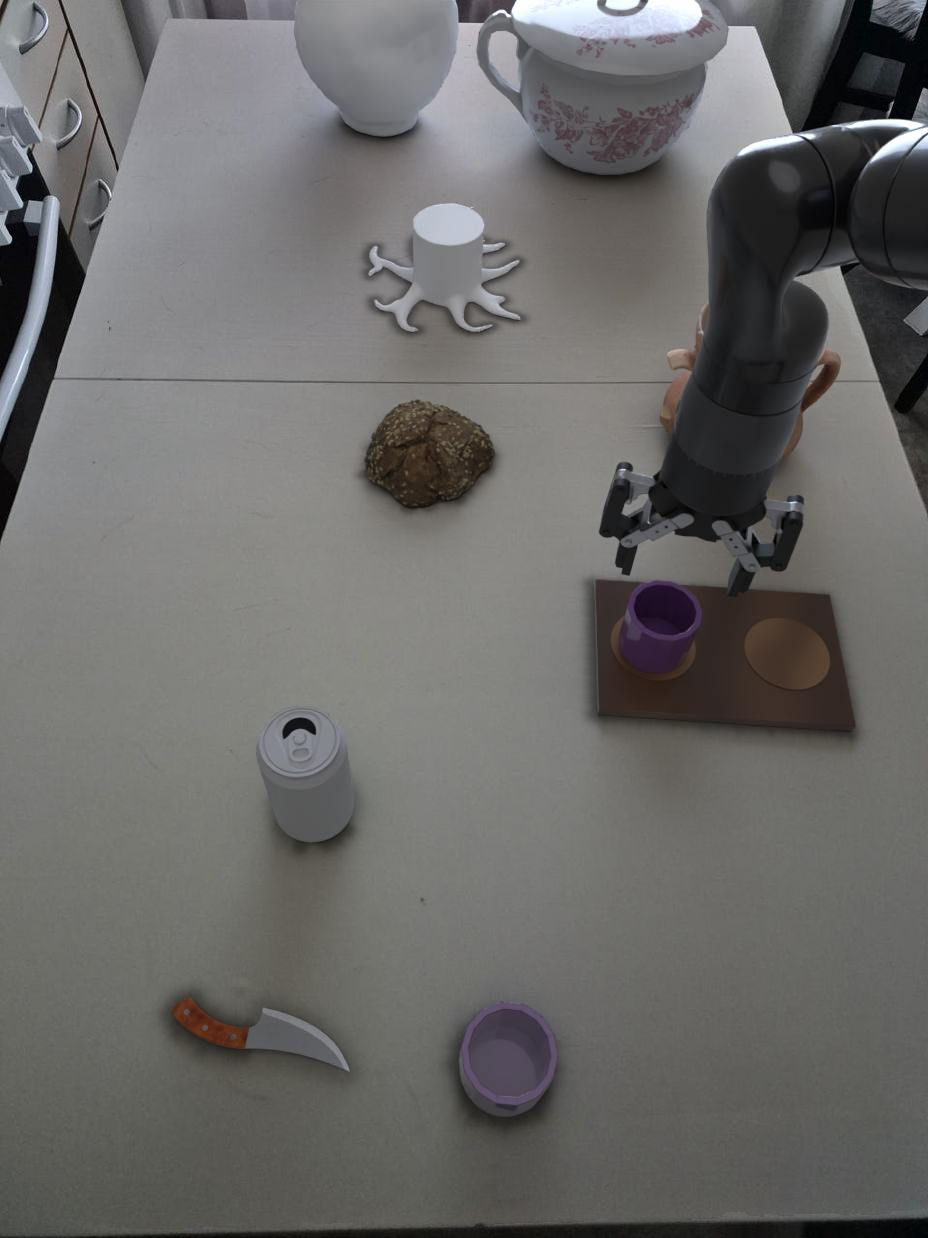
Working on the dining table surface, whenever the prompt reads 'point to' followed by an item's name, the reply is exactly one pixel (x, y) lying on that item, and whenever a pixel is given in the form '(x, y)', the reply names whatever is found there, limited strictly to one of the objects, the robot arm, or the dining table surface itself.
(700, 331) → the ceramic jug
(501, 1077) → the ramekin
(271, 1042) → the knife
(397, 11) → the vase
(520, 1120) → the dining table surface
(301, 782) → the beverage can
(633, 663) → the ramekin
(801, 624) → the serving board
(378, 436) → the bread roll
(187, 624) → the dining table surface
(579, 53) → the chamber pot
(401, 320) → the tree stump
